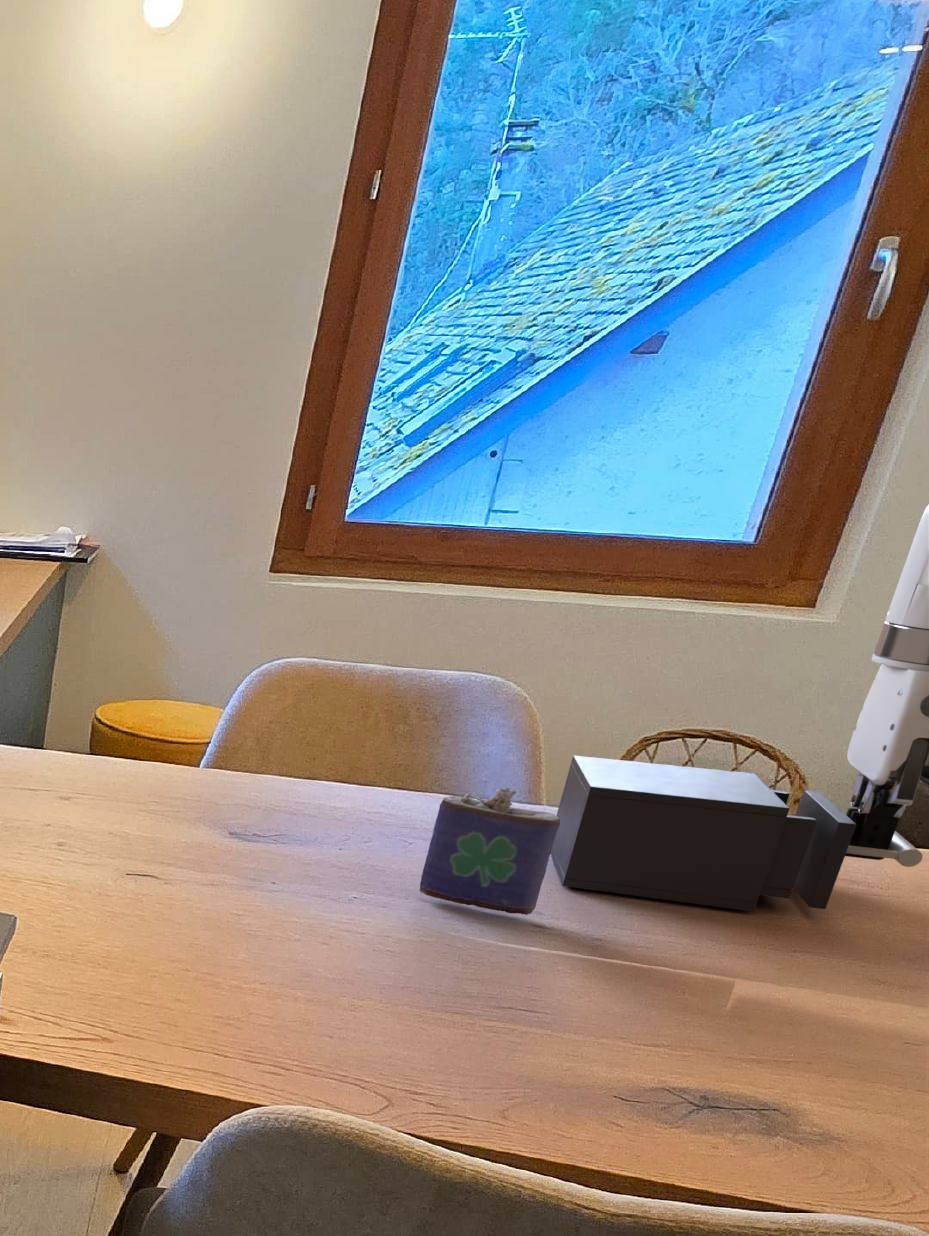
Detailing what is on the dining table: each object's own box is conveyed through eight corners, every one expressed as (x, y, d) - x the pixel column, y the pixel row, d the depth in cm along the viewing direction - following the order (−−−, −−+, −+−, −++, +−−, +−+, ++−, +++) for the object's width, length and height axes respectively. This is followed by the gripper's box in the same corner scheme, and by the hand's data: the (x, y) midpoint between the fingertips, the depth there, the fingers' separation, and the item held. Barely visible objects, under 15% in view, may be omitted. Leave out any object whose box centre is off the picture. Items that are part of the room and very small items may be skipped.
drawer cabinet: (723, 870, 132) (755, 773, 128) (754, 911, 122) (790, 808, 118) (547, 848, 138) (573, 755, 134) (562, 886, 128) (590, 786, 124)
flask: (535, 908, 122) (569, 794, 117) (530, 919, 120) (564, 803, 115) (421, 884, 127) (448, 774, 122) (414, 894, 125) (441, 783, 120)
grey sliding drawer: (869, 880, 127) (899, 799, 124) (909, 920, 117) (943, 833, 114) (622, 850, 135) (645, 773, 132) (641, 885, 125) (666, 803, 122)
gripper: (1029, 667, 107) (941, 887, 114) (960, 638, 120) (885, 838, 127) (907, 659, 110) (829, 874, 117) (852, 631, 123) (785, 827, 130)
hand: (858, 854), depth 122 cm, fingers closed
